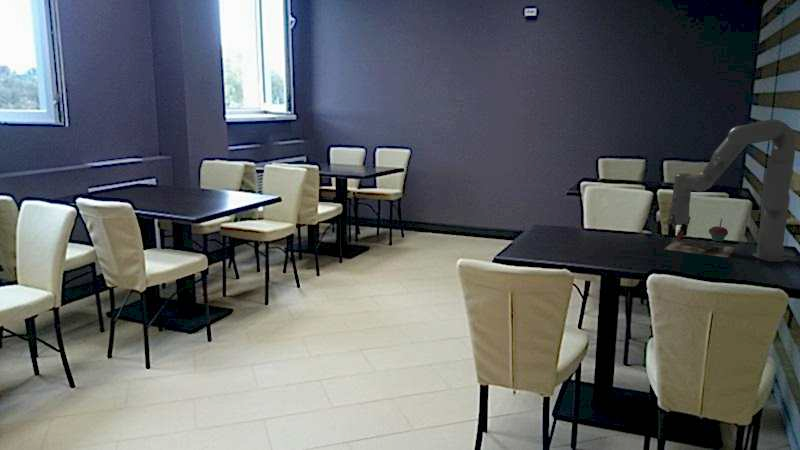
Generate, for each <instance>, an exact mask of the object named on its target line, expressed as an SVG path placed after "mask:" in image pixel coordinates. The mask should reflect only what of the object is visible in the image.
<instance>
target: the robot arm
mask: <svg viewBox="0 0 800 450" xmlns="http://www.w3.org/2000/svg"><path fill="white" fill-rule="evenodd" d="M768 141H771V150H770V160H769V165H768V166H767V167H766V169H765V171H764V174H763V175H764V176H763V182H762V186H761V187H762V188H761V196H760V203H761V205H762V207H761V214H760V222H759V230H758V235H757V244H756V252H754V253H752V256H753V257H757V258H756V260H761V261H763V262H773V263H774V262H776V263H777V262H778V263H779V262H780V263H782V262H786V260H787V258H792V259H794V258H795V253H794V252H793V253H792V252H788V251H787V252H786V251H784V250H785V249H784V242H785V234H786V227H787V220H788V211H789V206H790V202H791V201H790V199H791V196H790V187H791V180H792V177H793V175H794V162H795V154H796V148H797V147H796V146H797V138H796V134H795V132H794V131H793V129H792V128H791V126H789V125H788V124H786V123H785V122H783V121H781V120H778V119H765V120H762V121H761V120H760V121H757V122H751V123H747V124H743V125H737V126H733V127H732V128H730V130H729V132H728V133H727V136H726V137H725V139H724V140H723V141H722V143H720V144H719V145H718V147H717V148H716V149H715V150H714V151H713V154H711V155H712V156H711V157H710V158H711V159H710V161H709V162H708V164H706V166H705V167H704V168H703V170H701V172H700V173H699V174H698V175H692V174H689V173H676V174H675V176H674V180H673V188H672V189H673V190H672V200H671V204H670V208H669V211H668V215H667V216H668V217H667V220H666V223H667V229H668V231H667V237H668V238H671V239H674V238H675V237H676V236H675V235H676V229H675V228H676V227H677V226H680V227H679V230H683V231H684V236H683V237H685V236H688V228H689V224H690V221H691V216H690V205H691V204H690V203H691V196H692V195H691V194H692V191H693V192H698V193H699V192H700V193H701V192H704V191H707V190H708V189H710V188H711V187H712V186H713V185H714V184H715V182H717V180H719V178H720V177H721V176H722V175H723V173H724V172H725V171H726V170H728V169H727V168H729V167H730V166H731V164H732V163H733V161H735V159H736V158H737V157H738V156H739V155H740V153H741V152H742V151H743V150H744V149H745V148H746V147H747V145H753V144H758V143H763V142H768Z"/></svg>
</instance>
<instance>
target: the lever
mask: <svg viewBox="0 0 800 450" xmlns="http://www.w3.org/2000/svg"><path fill="white" fill-rule="evenodd" d="M684 237H685V236H684V231H683V230H680V229H677V232H676V240H677V242H681V243H685V244H690V245H695V246H700V247H701V245H702V244H704V243H705V242H700V241H699V242H696V241H695V240H691V239H686V238H685V239H684ZM706 243H707V244H709V245H710V246H711V249H710V250H717V251H722V250H724V247H721V246H722V245H719V246H716V245H717V244H713V243H712V244H711V243H710V242H706Z"/></svg>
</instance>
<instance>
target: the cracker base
mask: <svg viewBox="0 0 800 450" xmlns="http://www.w3.org/2000/svg"><path fill="white" fill-rule="evenodd" d="M694 241H696V242H700V240H699V239H697V238H696V239H694ZM715 245H716V246H721V247H724V250H722V251H717V250H710V251H709V252H705V250H704V249H701V247H700V246H695V245H690V244H685V243H681V242H677V239H675V240H673V241H672V242H671V243H670V244H668V245H667V246H666V247H664V250H668V251H674V252H683V253H691V254H699V255H706V256H715V257H720V258H729V257H730V256H731V254H732V253H733V252H734V250H735V249H736V247H735V246H727V245H726V246H725V245H718V244H715Z"/></svg>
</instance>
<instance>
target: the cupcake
mask: <svg viewBox="0 0 800 450" xmlns="http://www.w3.org/2000/svg"><path fill="white" fill-rule="evenodd" d="M722 223H723V218H721V219H720V221H719V225H718V226H712V227H711V228H709V229H708V233H709V234H710V236H711V240H712V241H713V240H714V241H713V242H716V241H719V242H718V243H722V242H724V240H725V238H726V237H727V235H728V234H729V230H728V229H726V227H723V226H722Z"/></svg>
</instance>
